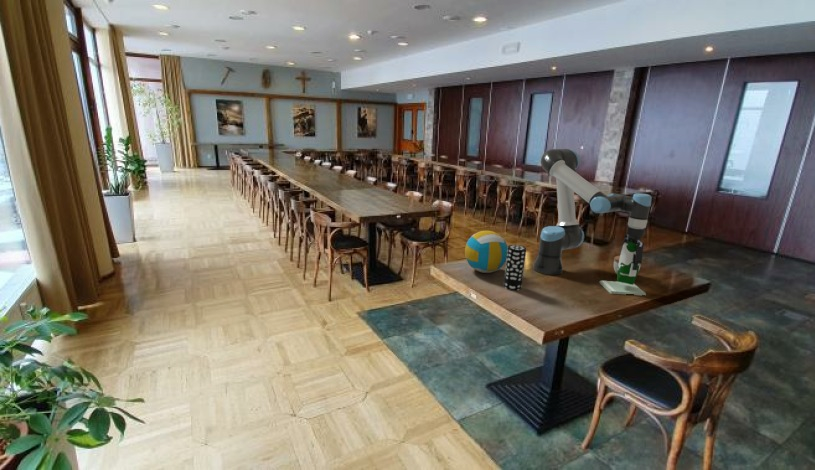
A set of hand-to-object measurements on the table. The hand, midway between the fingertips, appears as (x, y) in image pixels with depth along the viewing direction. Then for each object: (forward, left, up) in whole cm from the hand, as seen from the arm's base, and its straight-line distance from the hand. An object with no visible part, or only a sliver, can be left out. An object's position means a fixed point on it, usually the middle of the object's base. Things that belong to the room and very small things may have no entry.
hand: (627, 272), depth 192 cm
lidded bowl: (+9, +19, -9) cm, 23 cm away
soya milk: (0, 0, -5) cm, 5 cm away
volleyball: (-66, +13, -9) cm, 68 cm away
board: (-1, 0, -9) cm, 9 cm away
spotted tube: (-55, -6, -9) cm, 56 cm away
